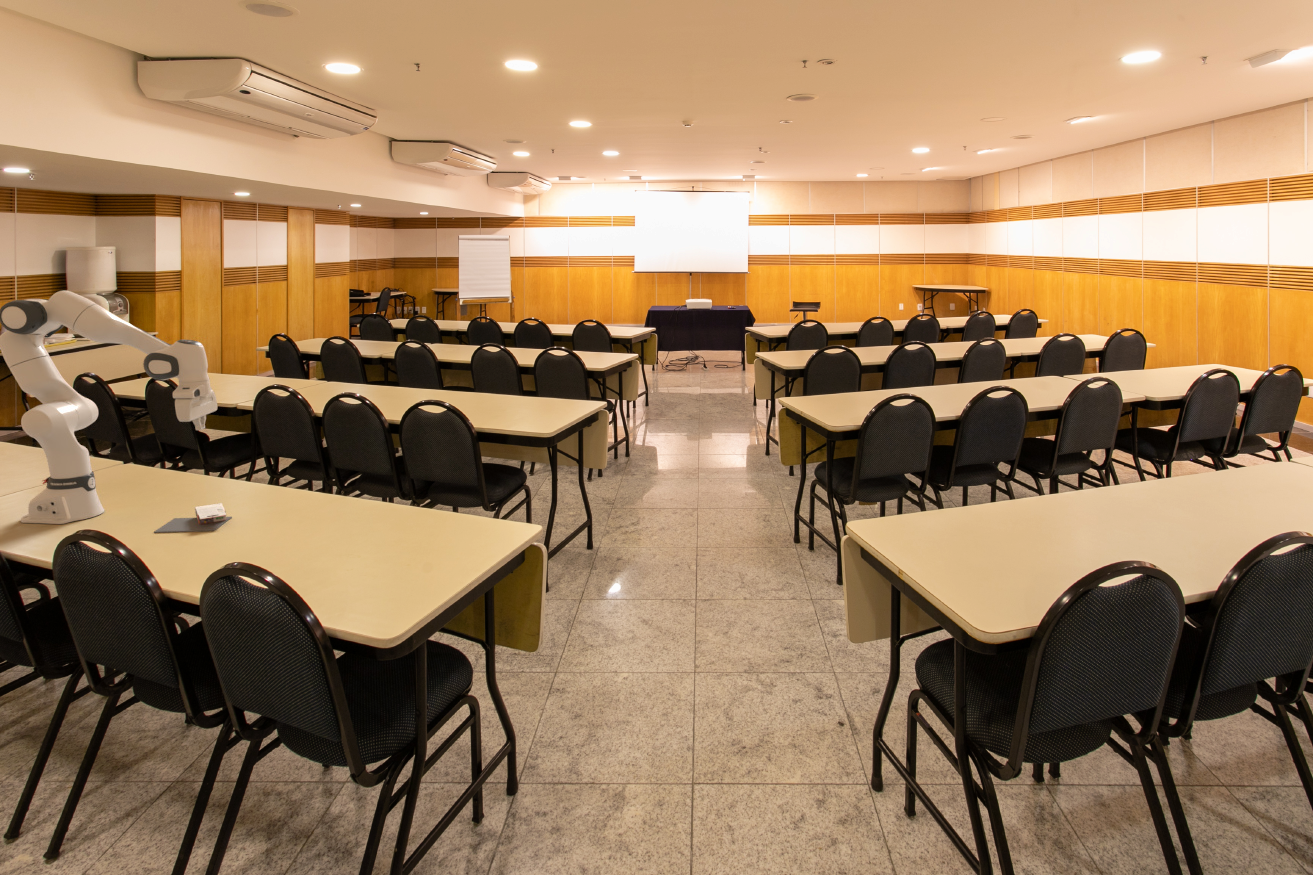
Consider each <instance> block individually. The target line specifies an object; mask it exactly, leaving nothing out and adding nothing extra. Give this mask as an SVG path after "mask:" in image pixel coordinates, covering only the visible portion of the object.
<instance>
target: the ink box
mask: <svg viewBox="0 0 1313 875" xmlns="http://www.w3.org/2000/svg"><path fill="white" fill-rule="evenodd" d="M194 510H195V516H196V517H195V518H197V520H198V523H199V524H206V523H212V522H218V521H224V520H226V517H227V513H226V510H225V507H224V506H223V503H222V502H220V503H214V504H206V505H205V504H204V505H201V506H199V505H198V506H194Z"/></svg>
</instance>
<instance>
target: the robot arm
mask: <svg viewBox="0 0 1313 875" xmlns="http://www.w3.org/2000/svg"><path fill="white" fill-rule="evenodd" d="M0 325H1V326H2V327H3V328H4V329H5V330H6V331H4V332H3V333H1V334H0V351H1V354H2V357H3V359H4V361H5V363H6V365H7V367H8V369H9V370H10V373H11V374H12V375H13V377H14V379H15V381H16V382H17V384H18V386H19V387H20V389H21V390H22V391H23V392H24V393H26V394H27V395H31V396H32V397H34V398H36V399H37V400H38V401H39V402H40V403H42V404H38V405H36V406H34V407H33V408H30V409H29V410H28V411H26V412H24V413H23V415H22V416H21V421H20V423H21V427H22V430H23V432H24V433H25V434H26V435H27V436H29V437H31V438H33V439H35V440H36V441H37V443H38V444H39V445H40V447H41V448H42V450H43V451H44V455H45V457H46V462H47V465H48V466H47V467H48V471H49V476H48V477H46V479H43V480H42V485H44V484H46V488H44V489H43V490H42V491H41V492H39V493H38V494H37V495H35V497H33V498H32V499H31V500H30V501H29V503H28V507H27V508H28V510H27V513H26V514H24V515H23V516H22V517H21V518H20V523H22V524H23V523H24V524H48V525H49V524H55V525H64V524H67V523H71V522H75V521H82V520H85V519H90V518H93V517H97V516H99V515H101V514H104V512H105V509H104V507H103V505H102V503H101V501H100V498H99V496H98V493H97V489H96V488H97V486H96V484H97V483H96V477H95V474H94V471H93V469H92V465H91V464H92V463H91V459H90V452H89V450H88V448H86V446H84V445H81V444H80V442H78V440H77V437H76V436H75V432H77V431H79V430H83V429H85V428H87V427H89V426H90V425H92V424H93V423H95V422H96V420H97V419H98V417H99V408H98V406H97V404H96V403H95V402H94V401H93V400H91V399H89V398H87V397H86V396H83V395H82V394H81V393H78V391H77V390H75V389H74V388H73V387H72V386H71V385H70V384H69V383H68V382H67V381H66V380H65V379H64V377H63V376H62V375H61V373H60V371H59V369H58V368H57V366H56V365H55V362H54V361H53V359H52V358H51V356H50V354H49V352H48V351H47V349H46V347H45V345H44V338H47V339H49V338H50V337H51V336H53V335H54V334H55V333H57V332H58V331H60V330H62V329H63V328H64V327H66V328H68V329H70V330H71V331H72V332H74V333H76V334H77V335H79V336H81V337H83V338H84V339H87V340H90V341H93V342H94V343H98V344H99V343H100V344H119V345H125V346H129V347H133V348H134V349H137V350H139V351H140V352H142V353H144V354H146V356H145V357H144V359H143V362H142V366H143V369H144V371H145V373H146V375H148V377H150V378H151V379H154V380H158V381H166V380H170V379H173V378H176V379H177V380H178V385H177V387H176V388H175V389H174V390H173V391H172V398H173V399H174V407H175V408H174V409H175V415H176V418H177V420H178V421H179V422H180V423H181V422H182V423H184V422H185V423H187V422H192V423H193V425H194V427H195V428H194V429H195V431H202V430H204V429H206V425H205V424H206V420H207V415H209V414H211V413H214V412H216V411H217V410H218V407H219V406H218V401H217V400H218V399H217V396H216V393H215V391H214V390H213V388H212V386H211V380H210V377H209V374H208V368H209V364H208V357H207V353H206V349H205V346H204V345H203V343H201V342H200V341H197V340H194V339H193V340H192V339H178V340H177V341H175V342H174V343H173V344H170V343H167V342H166V341H164V340H161V339H160V338H158V337H156V336H154V335H152V334H151V333H148V332H147V331H145V330H143V329H141V328H139V327H137V326H135V325H133V324H131V323H130V322H128V321H127V320H124V319H122V318H120V317H119V316H117V315H116V314H115V313H113V312H110V311H109V310H107V309H106V308H104V307H103V306H101V305H100V304H98V303H96V302H94V301H92V300H91V299H89V298H87V297H85V296H82V295H80V294H78V293H76V292H73V291H70V290H59V291H57V292H55V293H53V295H51V296H50V297H49V299H44V298H43V299H42V298H26V299H15V300H11V301H9V302H7V303H5V304H3V305H2V306H1V307H0Z"/></svg>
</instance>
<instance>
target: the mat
mask: <svg viewBox="0 0 1313 875" xmlns="http://www.w3.org/2000/svg"><path fill="white" fill-rule="evenodd" d="M232 518H233V516H226V520H224V521H218V522H212V523H206V524H199V523H198V520H197V517H174V518H172V519H171V520H169V521H168V522H166V523H165V524H163V525H162V526H160V527H159V528H157V529H156V530H154V531H153V534H161V533H162V534H165V533H168V534H170V533H193V532H195V533H197V532H199V533H200V532H203V533H204V532H216V531H217V529H219V528H220V527H222V526H223V525H224V524H226V523H227V522H228V521H230V520H231V519H232Z"/></svg>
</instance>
